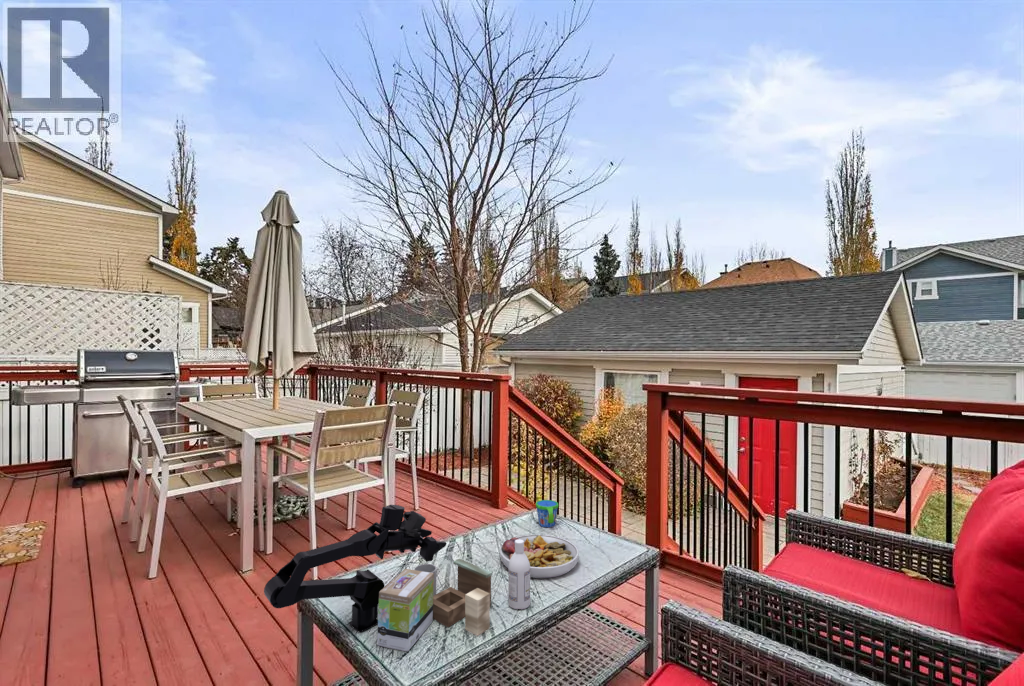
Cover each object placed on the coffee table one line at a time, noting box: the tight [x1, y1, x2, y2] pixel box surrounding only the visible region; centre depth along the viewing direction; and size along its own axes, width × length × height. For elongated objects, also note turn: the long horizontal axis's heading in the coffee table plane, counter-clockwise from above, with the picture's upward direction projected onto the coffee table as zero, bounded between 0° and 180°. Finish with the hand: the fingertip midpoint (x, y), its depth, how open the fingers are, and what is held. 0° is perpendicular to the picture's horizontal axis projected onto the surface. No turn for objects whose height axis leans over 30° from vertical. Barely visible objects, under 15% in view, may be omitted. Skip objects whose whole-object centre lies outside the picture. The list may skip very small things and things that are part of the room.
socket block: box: [433, 558, 493, 628], centre depth 143 cm, size 16×15×11 cm
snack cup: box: [535, 499, 559, 528], centre depth 214 cm, size 16×10×10 cm
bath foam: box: [507, 539, 531, 610], centre depth 146 cm, size 7×7×20 cm
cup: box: [413, 563, 438, 596], centre depth 152 cm, size 7×10×9 cm
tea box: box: [376, 568, 434, 652], centre depth 131 cm, size 15×10×15 cm
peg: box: [464, 588, 491, 637], centre depth 133 cm, size 5×5×10 cm
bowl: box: [499, 534, 579, 579], centre depth 176 cm, size 30×30×8 cm
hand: (438, 538), depth 153 cm, fingers open, 9 cm apart
